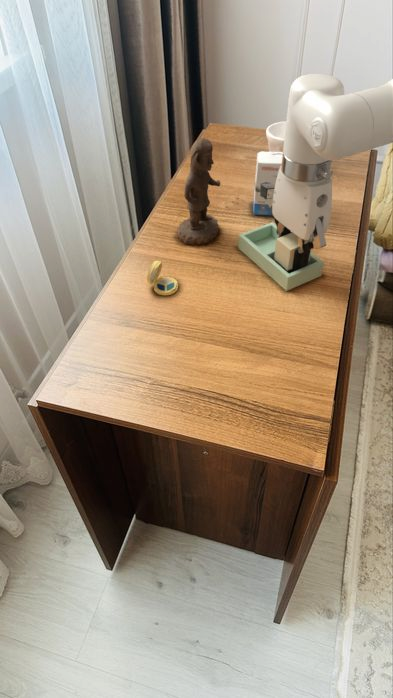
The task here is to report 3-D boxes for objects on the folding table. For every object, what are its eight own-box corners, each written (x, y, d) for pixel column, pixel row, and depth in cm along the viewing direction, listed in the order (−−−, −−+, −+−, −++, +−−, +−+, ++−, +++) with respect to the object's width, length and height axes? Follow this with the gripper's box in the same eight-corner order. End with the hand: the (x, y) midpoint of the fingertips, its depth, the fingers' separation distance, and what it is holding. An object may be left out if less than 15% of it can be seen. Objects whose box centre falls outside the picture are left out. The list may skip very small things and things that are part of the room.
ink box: (252, 215, 106) (256, 163, 97) (253, 203, 109) (256, 151, 101) (293, 217, 105) (301, 164, 96) (292, 204, 108) (300, 152, 100)
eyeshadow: (170, 298, 88) (168, 276, 85) (146, 290, 90) (143, 268, 86) (182, 283, 91) (181, 261, 87) (158, 276, 93) (156, 254, 89)
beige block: (309, 261, 91) (313, 240, 87) (287, 270, 89) (290, 250, 86) (295, 250, 93) (298, 229, 90) (273, 259, 91) (276, 238, 88)
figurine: (204, 250, 98) (203, 151, 83) (172, 240, 100) (165, 142, 86) (225, 227, 103) (227, 131, 88) (193, 218, 106) (191, 122, 91)
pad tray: (271, 235, 101) (272, 221, 99) (321, 275, 92) (324, 262, 89) (238, 247, 98) (238, 234, 96) (286, 291, 89) (288, 277, 87)
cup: (257, 162, 122) (260, 124, 115) (295, 156, 123) (300, 118, 116) (271, 182, 115) (275, 142, 108) (311, 176, 117) (318, 136, 110)
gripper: (362, 180, 74) (338, 277, 87) (291, 138, 84) (280, 231, 97) (322, 195, 71) (305, 292, 85) (254, 149, 81) (248, 243, 95)
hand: (291, 258), depth 91 cm, fingers closed on beige block, 4 cm apart
